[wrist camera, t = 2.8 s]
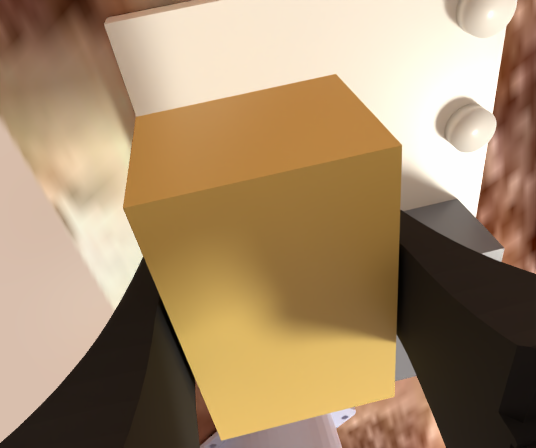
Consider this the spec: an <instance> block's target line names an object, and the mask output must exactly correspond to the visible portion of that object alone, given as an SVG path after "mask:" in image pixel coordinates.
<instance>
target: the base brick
mask: <svg viewBox="0 0 536 448" xmlns="http://www.w3.org/2000/svg"><path fill="white" fill-rule="evenodd" d="M403 212H405V213H407V214H408V215H410V216H411V217H413V218H415V219H416V220H418V221H419V222H421V223H423V224H424V225H426V226H428V227H429V228H431V229H433V230H435V231H437V232H438V233H440V234H442V235H444V236H446V237H448V238H450V239H451V240H453V241H455V242H457V243H459V244H461V245H463V246H465V247H467V248H470V249H472V250H474V251H476V252H479V253H481V254H483V255H486V256H488V257H490V258H493V259H495V260H498V261H500V262H501V261H502V256H503V252H504V247H503V246H502V245H501V244H500V243H499V242H498V241H497V240H496V239H495V238H494V237H493V236H492V235H491V233H490V232H489V231H488V230H487V229H486V228H485V227H484V226H483V225H482V224H481V223H480V222H479V221H478V220H477V219H476V218H475V217H474V215H473V214H472V213H471V212H470V211H469V210H468V209H467V208H466V207H465V206H464V205H463V204H462V203H461V202H460V201H459V200H458V199H453V200H449V201H445V202H440V203H436V204H432V205H427V206H423V207H419V208H415V209H410V210H406V211H403ZM414 376H416V373H415V371H414V369H413V366H412V364H411V362H410V360H409V357H408V355H407V353H406V351H405V349H404V347H403V345H402V343H401V341H400V340H399V338H398V336H397V334H396V363H395V381H398V380H402V379H406V378H410V377H414Z"/></svg>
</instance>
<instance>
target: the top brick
mask: <svg viewBox="0 0 536 448" xmlns="http://www.w3.org/2000/svg"><path fill="white" fill-rule="evenodd" d="M401 172H402V144H401V143H400V142H399V141H398V140H397V139H396V138H395V137H394V136H393V135H392V134H391V132H390V131H389V130H388V129H387V128H386V127H385V126H384V125H383V124H382V123H381V122H380V121H379V120H378V118H377V117H376V116H375V115H374V114H373V113H372V112H371V111H370V110H369V109H368V108H367V107H366V106H365V105H364V103H363V102H362V101H361V100H360V99H359V98H358V97H357V96H356V95H355V94H354V93H353V92H352V91H351V89H350V88H349V87H348V86H347V85H346V84H345V83H344V82H343V81H342V80H341V79H340V78H339V77H338V76H337V74H333V75H328V76H324V77H319V78H314V79H310V80H305V81H300V82H296V83H291V84H286V85H282V86H277V87H272V88H268V89H263V90H258V91H254V92H249V93H245V94H240V95H235V96H231V97H226V98H221V99H217V100H212V101H207V102H203V103H198V104H193V105H189V106H184V107H179V108H175V109H170V110H165V111H161V112H156V113H152V114H147V115H142V116H138V117H136V120H135V127H134V134H133V141H132V148H131V155H130V162H129V169H128V176H127V183H126V190H125V197H124V204H123V209H124V212H125V214H126V216H127V219H128V221H129V223H130V226H131V228H132V231H133V233H134V235H135V238H136V240H137V242H138V245H139V247H140V250H141V252H142V254H143V257H144V259H145V261H146V264H147V266H148V268H149V271H150V273H151V276H152V278H153V280H154V283H155V285H156V287H157V290H158V292H159V294H160V297H161V299H162V302H163V304H164V306H165V309H166V311H167V313H168V316H169V318H170V320H171V323H172V325H173V328H174V330H175V332H176V335H177V337H178V339H179V342H180V344H181V346H182V349H183V351H184V354H185V356H186V358H187V361H188V363H189V365H190V368H191V370H192V372H193V375H194V377H195V380H196V382H197V384H198V387H199V389H200V391H201V394H202V396H203V398H204V401H205V403H206V406H207V408H208V410H209V413H210V415H211V417H212V420H213V422H214V424H215V427H216V429H217V432H218V434H219V436H220V439H221V441H222V440H226V439H230V438H234V437H238V436H242V435H246V434H250V433H254V432H258V431H261V430H265V429H269V428H273V427H277V426H281V425H285V424H289V423H293V422H297V421H301V420H305V419H309V418H313V417H316V416H320V415H324V414H328V413H332V412H336V411H340V410H344V409H348V408H352V407H356V406H360V405H364V404H368V403H371V402H375V401H379V400H383V399H387V398H391V397H394V395H395V363H396V331H397V299H398V267H399V235H400V204H401Z"/></svg>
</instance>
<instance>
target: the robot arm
mask: <svg viewBox="0 0 536 448" xmlns="http://www.w3.org/2000/svg"><path fill="white" fill-rule="evenodd" d="M396 334H397V336H398V338H399V340H400V341H401V343H402V345H403V347H404V349H405V351H406V353H407V355H408V357H409V360H410V362H411V364H412V366H413V369H414V371H415V373H416V376H417V378H418V380H419V382H420V385H421V387H422V389H423V392H424V394H425V397H426V399H427V401H428V404H429V406H430V408H431V411H432V413H433V416H434V418H435V421H436V423H437V426H438V428H439V431H440V433H441V436H442V438H443V441H444V443H445V446H446V448H536V274H534V273H531V272H528V271H525V270H522V269H520V268H517V267H514V266H511V265H508V264H505V263H503V262H500V261H498V260H495V259H493V258H490V257H488V256H486V255H483V254H481V253H479V252H476V251H474V250H472V249H470V248H467V247H465V246H463V245H461V244H459V243H457V242H455V241H453V240H451V239H450V238H448V237H446V236H444V235H442V234H440V233H438V232H437V231H435V230H433V229H431V228H429V227H428V226H426V225H424V224H423V223H421V222H419V221H418V220H416V219H415V218H413V217H411V216H410V215H408V214H407V213H405V212H403V211H402V210H400V235H399V267H398V299H397V331H396ZM355 413H356V411H355V408H354V407H352V408H348V409H344V410H340V411H336V412H332V413H328V414H324V415H320V416H316V417H313V418H309V419H305V420H301V421H297V422H293V423H289V424H285V425H281V426H277V427H273V428H269V429H265V430H261V431H258V432H254V433H250V434H246V435H242V436H238V437H234V438H230V439H226V440H222V441H221V439H220V436H219V434H218V432H215V433H214V434H213V435H212V436H211V437H210V438H209V439H207V440H206V441H205V442H204V443H203V444H202V445H201V446H200V444H199V435H198V425H197V414H196V400H195V377H194V375H193V372H192V370H191V368H190V365H189V363H188V361H187V358H186V356H185V354H184V351H183V349H182V346H181V344H180V342H179V339H178V337H177V335H176V332H175V330H174V328H173V325H172V323H171V320H170V318H169V316H168V313H167V311H166V309H165V306H164V304H163V302H162V299H161V297H160V294H159V292H158V290H157V287H156V285H155V283H154V280H153V278H152V276H151V273H150V271H149V268H148V266H147V264H146V261H145V259H144V257H143V258H142V260H141V262H140V265H139V267H138V269H137V271H136V273H135V275H134V277H133V279H132V281H131V283H130V285H129V286H128V288H127V290H126V292H125V294H124V296H123V298H122V300H121V301H120V303H119V305H118V306H117V308H116V310H115V311H114V313H113V315H112V316H111V318H110V320H109V321H108V323H107V324H106V326H105V328H104V329H103V331H102V332H101V334H100V335H99V337H98V338H97V339H96V341H95V342H94V344H93V345H92V346H91V348H90V349H89V351H88V352H87V353H86V355H85V356H84V357H83V358H82V359H81V361H80V362H79V363H78V364H77V365H76V367H75V368H74V369H73V370H72V372H70V374H69V375H68V376H67V377H66V378H65V380H64V381H63V382H62V383H61V384H60V385H59V386H58V388H57V389H56V390H55V391H54V392H53V393H52V394H51V395H50V396H49V397H48V398H47V399H46V400H45V401H44V402H43V403H42V404H41V406H39V407H38V408H37V409H36V410H35V411H34V412H33V413H32V414H31V415H30V416H29V417H28V418H27V419H26V420H25V421H24V422H23V423H22V424H21V425H20V426H19V427H18V428H17V429H16V430H15V431H13V432H12V433H11V434H10V435H9V436H8V437H7V438H5V439H4V440H3V441H2V442H1V443H0V448H342V446H341V443H340V440H339V436H338V433H337V430H336V428H337V427H339V426H340V425H341V424H343V423H344V422H345V421H347V420H348V419H349V418H351V417H352V416H353V415H354V414H355Z"/></svg>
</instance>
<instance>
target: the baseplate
mask: <svg viewBox="0 0 536 448" xmlns="http://www.w3.org/2000/svg"><path fill="white" fill-rule="evenodd" d="M516 5H517V0H192V1H187V2H182V3H177V4H172V5H167V6H162V7H157V8H152V9H147V10H142V11H137V12H132V13H127V14H123V15H118V16H113V17H108V18H107V19H106V21H105V23H104V26H105V29H106V32H107V35H108V37H109V40H110V43H111V46H112V49H113V52H114V55H115V58H116V60H117V63H118V66H119V69H120V72H121V75H122V78H123V80H124V83H125V86H126V89H127V92H128V95H129V98H130V100H131V103H132V106H133V109H134V112H135V115H136V117H138V116H142V115H147V114H152V113H156V112H161V111H165V110H170V109H175V108H179V107H184V106H189V105H193V104H198V103H203V102H207V101H212V100H217V99H221V98H226V97H231V96H235V95H240V94H245V93H249V92H254V91H258V90H263V89H268V88H272V87H277V86H282V85H286V84H291V83H296V82H300V81H305V80H310V79H314V78H319V77H324V76H328V75H333V74H337V76H338V77H339V78H340V79H341V80H342V81H343V82H344V83H345V84H346V85H347V86H348V87H349V88H350V89H351V91H352V92H353V93H354V94H355V95H356V96H357V97H358V98H359V99H360V100H361V101H362V102H363V103H364V105H365V106H366V107H367V108H368V109H369V110H370V111H371V112H372V113H373V114H374V115H375V116H376V117H377V118H378V120H379V121H380V122H381V123H382V124H383V125H384V126H385V127H386V128H387V129H388V130H389V131H390V132H391V134H392V135H393V136H394V137H395V138H396V139H397V140H398V141H399V142H400V143H401V144H402V172H401V204H400V210H402V211H406V210H410V209H415V208H419V207H423V206H427V205H432V204H436V203H440V202H445V201H449V200H453V199H458V200H459V201H460V202H461V203H462V204H463V205H464V206H465V207H466V208H467V209H468V210H469V211H470V212H471V213H472V214H473V215H474V217H475V218H476V213H477V207H478V200H479V194H480V188H481V182H482V175H483V169H484V163H485V157H486V150H487V144H488V142H489V141H490V139H491V138H492V136H493V135H494V133H495V130H496V119H495V117H494V115H493V114H492V113H493V106H494V100H495V94H496V88H497V81H498V75H499V69H500V63H501V56H502V50H503V44H504V38H505V31H506V25H507V24H508V23H509V22H510V20H511V18H512V17H513V15H514V12H515V9H516Z"/></svg>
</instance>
